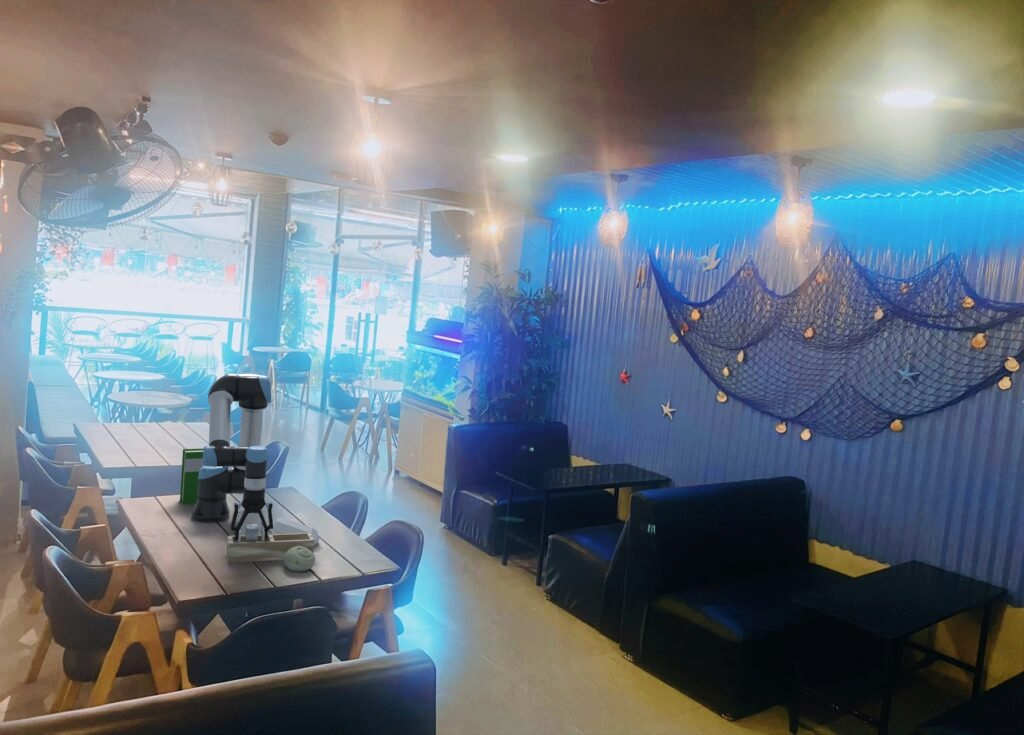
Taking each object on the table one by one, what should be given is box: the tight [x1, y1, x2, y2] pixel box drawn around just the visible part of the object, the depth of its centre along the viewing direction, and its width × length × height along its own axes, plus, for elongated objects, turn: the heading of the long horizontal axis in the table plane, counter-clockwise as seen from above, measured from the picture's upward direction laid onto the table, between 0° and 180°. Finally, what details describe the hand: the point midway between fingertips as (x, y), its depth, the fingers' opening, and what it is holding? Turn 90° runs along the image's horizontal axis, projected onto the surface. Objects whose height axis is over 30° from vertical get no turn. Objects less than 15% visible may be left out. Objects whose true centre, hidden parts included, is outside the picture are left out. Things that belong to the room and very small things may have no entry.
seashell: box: [283, 546, 316, 573], centre depth 267 cm, size 13×8×10 cm
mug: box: [236, 509, 262, 535], centre depth 292 cm, size 12×9×11 cm
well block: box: [226, 532, 315, 564], centre depth 275 cm, size 10×30×7 cm, turn 114°
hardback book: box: [179, 447, 204, 505], centre depth 335 cm, size 18×7×24 cm, turn 124°
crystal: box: [271, 516, 320, 546], centre depth 297 cm, size 7×7×24 cm
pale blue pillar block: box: [245, 524, 259, 542], centre depth 271 cm, size 6×4×11 cm, turn 24°
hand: (250, 547), depth 272 cm, fingers open, 8 cm apart
